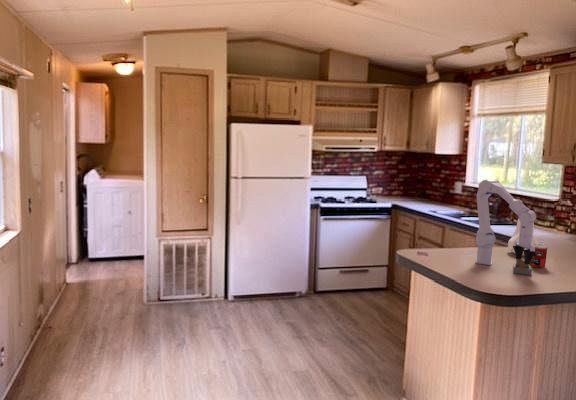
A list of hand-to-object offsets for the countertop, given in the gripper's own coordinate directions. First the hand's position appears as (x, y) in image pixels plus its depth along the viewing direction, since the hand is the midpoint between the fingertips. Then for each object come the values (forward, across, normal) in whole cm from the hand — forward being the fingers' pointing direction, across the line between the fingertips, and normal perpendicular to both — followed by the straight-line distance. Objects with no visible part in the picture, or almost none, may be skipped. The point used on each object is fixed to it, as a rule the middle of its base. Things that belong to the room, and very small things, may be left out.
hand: (522, 262), depth 254 cm
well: (+5, 0, 0) cm, 5 cm away
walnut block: (+5, 0, 0) cm, 5 cm away
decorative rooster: (+6, -36, +22) cm, 43 cm away
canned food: (+6, -12, +16) cm, 20 cm away
